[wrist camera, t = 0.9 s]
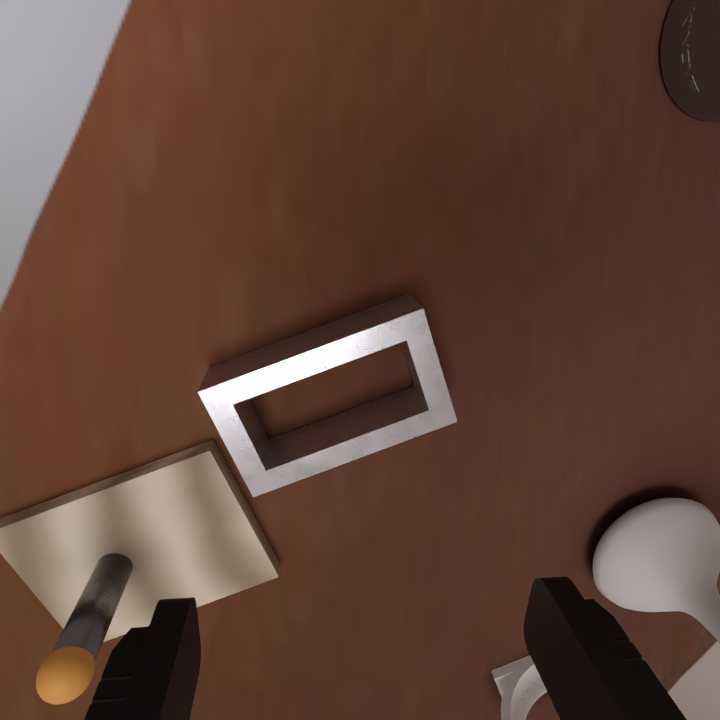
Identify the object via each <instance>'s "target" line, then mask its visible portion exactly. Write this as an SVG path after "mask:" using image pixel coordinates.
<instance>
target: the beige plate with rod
mask: <svg viewBox="0 0 720 720" xmlns="http://www.w3.org/2000/svg"><path fill="white" fill-rule="evenodd" d="M0 553H1V554H2V556H3V557H4V558H5V559H6V560H7V562H8V563H9V564H10V565H11V566H12V568H13V569H14V570H15V571H16V572H17V574H18V575H19V576H20V577H21V578H22V580H23V581H24V582H25V583H26V584H27V586H28V587H29V588H30V589H31V590H32V592H33V593H34V594H35V595H36V596H37V598H38V599H39V600H40V601H41V602H42V604H43V605H44V606H45V607H46V608H47V610H48V611H49V612H50V613H51V614H52V616H53V617H54V618H55V619H56V620H57V622H58V623H59V624H60V625H61V627H62V628H63V631H62V633H61V635H60V637H59V639H58V641H57V643H56V645H55V647H54V649H53V651H52V653H51V654H50V655H49V656H48V657H47V658H46V659H45V660H44V662H43V663H42V665H41V666H40V668H39V671H38V673H37V677H36V689H37V692H38V694H39V696H40V697H41V698H42V699H43V700H44V701H45V702H47V703H50V704H64V703H67V702H70V701H72V700H74V699H75V698H77V697H78V696H79V695H81V694H82V693H83V692H84V691H85V689H86V688H87V687H88V685H89V684H90V682H91V680H92V677H93V674H94V669H95V661H96V658H97V656H98V653H99V651H100V648H101V646H102V643H103V642H105V641H108V640H110V639H113V638H116V637H119V636H121V635H124V634H126V633H127V632H128V631H129V630H130V629H131V628H136V627H145V626H148V625H150V622H151V619H152V617H153V614H154V611H155V608H156V605H157V603H158V601H159V600H160V599H173V598H190V597H194V598H195V600H196V606H197V607H199V606H202V605H205V604H207V603H210V602H213V601H215V600H218V599H221V598H223V597H226V596H229V595H231V594H234V593H237V592H240V591H242V590H245V589H248V588H250V587H253V586H256V585H258V584H261V583H264V582H266V581H269V580H272V579H275V578H277V577H279V561H278V559H277V557H276V555H275V553H274V551H273V550H272V548H271V546H270V544H269V542H268V540H267V538H266V537H265V535H264V533H263V531H262V529H261V527H260V525H259V524H258V522H257V520H256V518H255V516H254V514H253V512H252V511H251V509H250V507H249V505H248V503H247V501H246V499H245V498H244V496H243V494H242V492H241V490H240V488H239V486H238V485H237V483H236V481H235V479H234V477H233V475H232V473H231V471H230V470H229V468H228V466H227V464H226V462H225V460H224V458H223V457H222V455H221V453H220V451H219V449H218V447H217V445H216V444H215V442H214V440H210V441H207V442H205V443H202V444H199V445H197V446H194V447H191V448H189V449H186V450H183V451H180V452H178V453H175V454H172V455H170V456H167V457H164V458H162V459H159V460H156V461H153V462H151V463H148V464H145V465H143V466H140V467H137V468H135V469H132V470H129V471H127V472H124V473H121V474H118V475H116V476H113V477H110V478H108V479H105V480H102V481H100V482H97V483H94V484H91V485H89V486H86V487H83V488H81V489H78V490H75V491H73V492H70V493H67V494H64V495H62V496H59V497H56V498H54V499H51V500H48V501H46V502H43V503H40V504H37V505H35V506H32V507H29V508H27V509H24V510H21V511H19V512H16V513H13V514H11V515H8V516H5V517H2V518H0Z"/></svg>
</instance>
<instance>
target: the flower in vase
mask: <svg viewBox="0 0 720 720" xmlns="http://www.w3.org/2000/svg"><path fill="white" fill-rule="evenodd" d="M719 571H720V525H719V524H718V522H717V520H716V518H715V517H714V515H713V513H712V512H711V511H710V510H709V509H708V508H707V507H705V506H704V505H702V504H701V503H699V502H696V501H693V500H689V499H683V498H660V499H655V500H651V501H648V502H645V503H643V504H640V505H638V506H636V507H634V508H632V509H630V510H629V511H627V512H626V513H624V514H623V515H622V516H620V517H619V518H618V519H617V520H615V521H614V522H613V523H612V524H611V525H610V526H609V528H608V529H607V530H606V531H605V533H604V534H603V536H602V537H601V539H600V540H599V542H598V544H597V547H596V549H595V552H594V557H593V578H594V582H595V584H596V586H597V588H598V590H599V591H600V592H601V594H602V595H604V596H605V597H606V598H607V599H609V600H610V601H612V602H614V603H615V604H617V605H618V606H621V607H623V608H626V609H630V610H636V611H643V612H668V611H682V612H686V613H688V614H690V615H692V616H693V617H694V618H696V619H697V620H698V621H699V622H701V623H702V624H703V625H704V626H705V627H706V628H707V629H708V630H709V631H710V632H711V634H712V635H713V636H714V637H715V638H716V639H717V640H718V642H720V595H719V593H718V590H717V584H716V583H717V578H718V575H719Z"/></svg>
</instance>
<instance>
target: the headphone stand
mask: <svg viewBox="0 0 720 720" xmlns="http://www.w3.org/2000/svg"><path fill="white" fill-rule="evenodd" d="M491 672H492V675H493V677H494V680H495V682H496V685H497V687H498V689H499V692H500V694H501V697H502V703H501V720H525V719H526V716H527V714H528V712H529V710H530V708H531V707H532V705H533V704H534V703H535V702H536V700H537V699H538V698H540V697H541V696H542V695H543V694H545V693H546V692H547V690H546V688H545V686H544V684H543V681H542V679H541V677H540V675H539V673H538V671H537V669H536V667H535V665H534V662H533V660H532V658H531V656H530V655H529V656H526V657H524V658H521V659H519V660H516V661H514V662H511V663H509V664H506V665H504V666H501V667H499V668H496V669H494V670H491Z"/></svg>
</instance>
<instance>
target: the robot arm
mask: <svg viewBox="0 0 720 720" xmlns="http://www.w3.org/2000/svg"><path fill="white" fill-rule="evenodd" d="M660 63H661V69H662V74H663V80H664V82H665V85H666V87H667V90H668V92H669V95H670V96H671V97H672V99H673V100H674V102H675V103H676V104H677V106H678V107H679V108H680V109H682V110H683V111H684V112H685V113H687V114H688V115H689V116H692V117H694V118H697V119H699V120H702V121H711V122H718V121H720V0H673V2H672V4H671V6H670V9H669V12H668V15H667V18H666V21H665V24H664V28H663V34H662V39H661V61H660ZM524 637H525V642H526V646H527V649H528V652H529V654H530V656H531V658H532V660H533V662H534V665H535V667H536V669H537V671H538V673H539V675H540V677H541V679H542V681H543V684H544V686H545V688H546V690H547V692H548V694H549V696H550V698H551V700H552V703H553V705H554V707H555V709H556V711H557V713H558V715H559V717H560V719H561V720H686V718H685V717H684V715H683V714H682V713H681V711H680V710H679V708H678V707H677V705H676V704H675V703H674V701H673V700H672V698H671V697H670V696H669V694H668V693H667V691H666V690H665V688H664V687H663V686H662V684H661V683H660V681H659V680H658V679H657V677H656V676H655V674H654V673H653V671H652V670H651V669H650V667H649V666H648V664H647V663H646V662H645V661H643V660H642V656H641V654H640V653H639V652H638V650H637V649H636V647H635V646H634V645H633V643H630V641H629V637H628V636H627V635H626V633H625V632H624V630H623V629H622V628H621V626H620V625H619V623H618V622H617V621H616V619H615V618H614V617H613V616H612V615H611V614H610V613H609V612H608V611H606V610H605V609H604V608H603V607H602V606H600V605H599V604H598V603H597V602H596V601H595V600H593V599H588V600H584V598H583V597H582V595H581V594H580V592H579V591H578V589H577V588H576V586H575V585H574V583H573V582H572V581H571V580H570V579H569V578H568V577H552V578H537V579H535V580H534V582H533V584H532V589H531V593H530V598H529V602H528V607H527V612H526V616H525V621H524ZM200 658H201V644H200V634H199V625H198V615H197V606H196V600H195V598H194V597H190V598H173V599H160V600H159V601H158V603H157V605H156V608H155V611H154V614H153V617H152V619H151V622H150V625H149V627H136V628H131V629H130V630H129V631H128V632H127V633H126V635H125V636H124V637H123V638H122V639H121V641H120V642H119V643H118V644H117V645H116V647H115V648H114V649H113V650H112V652H111V654H110V657H109V659H108V662H107V664H106V667H105V669H104V672H103V674H102V679H101V682H99V684H98V687H97V689H96V692H95V694H94V697H93V702H92V705H90V707H89V709H88V712H87V714H86V717H85V719H84V720H189V719H190V714H191V709H192V705H193V700H194V695H195V690H196V685H197V681H198V676H199V669H200Z"/></svg>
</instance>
